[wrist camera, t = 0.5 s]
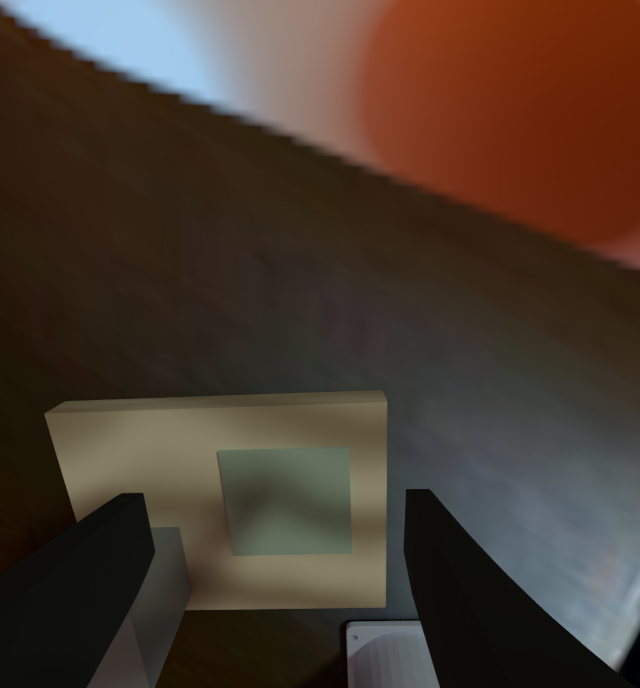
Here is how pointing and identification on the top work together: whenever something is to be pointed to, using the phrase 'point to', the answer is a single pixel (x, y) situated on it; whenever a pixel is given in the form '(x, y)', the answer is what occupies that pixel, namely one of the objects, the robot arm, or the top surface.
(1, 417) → the top surface
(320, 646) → the top surface
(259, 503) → the board
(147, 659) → the grey matte cube
